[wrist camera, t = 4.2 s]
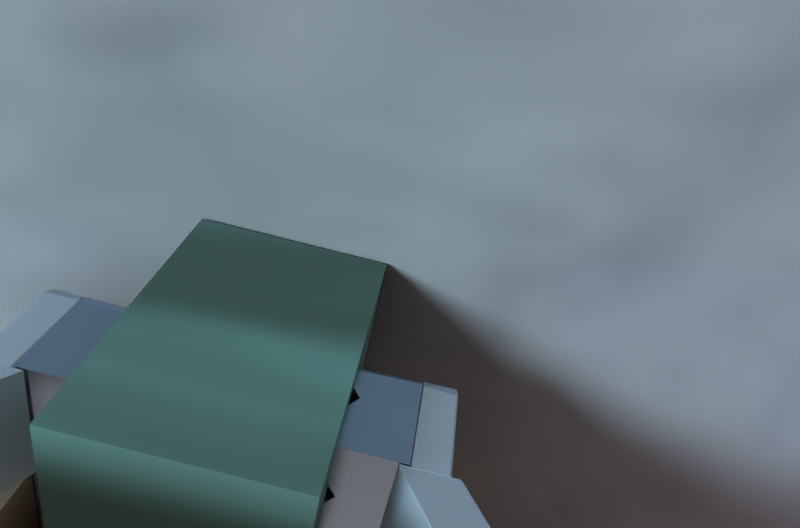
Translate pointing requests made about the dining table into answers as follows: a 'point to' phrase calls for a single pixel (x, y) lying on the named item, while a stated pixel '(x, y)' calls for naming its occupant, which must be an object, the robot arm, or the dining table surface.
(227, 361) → the oak block with dowel handle
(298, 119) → the dining table surface
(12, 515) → the tan piece
